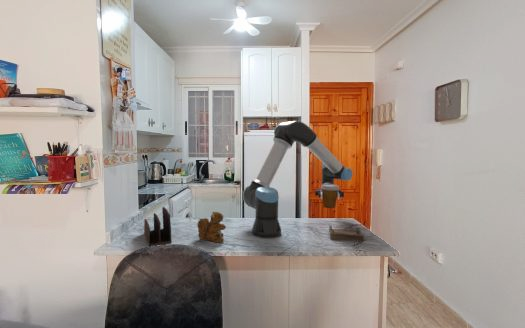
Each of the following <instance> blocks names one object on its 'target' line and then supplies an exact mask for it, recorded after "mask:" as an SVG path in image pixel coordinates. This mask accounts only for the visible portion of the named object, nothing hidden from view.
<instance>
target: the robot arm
mask: <svg viewBox="0 0 525 328" xmlns="http://www.w3.org/2000/svg"><path fill="white" fill-rule="evenodd" d="M273 134H274V137H273V139H272V140H273V145H272V147H271V148H270V151H269V153H268V154H267V157H266V159H265V161H264V162H263V165H262V166H261V169H260V170H259V173H258V174H257V177H256V178H255V179H252V180H251V183H250V185H248V186H246V187H245V188H244V190H243V192H242V200H243V202H244V203H245V204H246V205H247V206H248V207H250V208H252V209H254V210H255V219H254V222H253V225H252V228H251V234H252V236H254V237H257V238H261V239H262V238H263V239H273V238H278V237H280V236H281V235H282V228H281V223H280V222H279V197H280V196H279V192H278V190H277V189H276V188H274V187H271V184H272V183H273V180H274V178H275V175H276V174H277V172H278V169H279V168H280V165H281V164H282V161H283V160H284V157H285V156H286V153H287V152H288V150H289V149H291V148H292V147H293V145H294V143H299V144H300V145H301V146H302V147H304V148H307V149H308V150H309V151H310V152H311V153H312V154H313V155H314V156H316V159H318V160H319V161H320V162H321V163H322V165H321V166H322V167H321V186H322V185H323V184H334V185H335V183H334V182H335V180H338V181H339V180H340V181H346V182H347V181H350V180H351V179H352V178H353V174H354V173H353V170H352V169H351V168H349V167H345V166H344V165H343V164H342V163H341V161H340V160H339V159H338V158H336V156H335V155H334V154H333V153H332V152H331V151H330V150H329V149H328V148H327V147H326V146H325V145H324V144H323V142H322V141H320V139H319V138H318V135H317V134H316V132H315V131H314V130H313V129H311V127H310V126H308V125H307V124H306V123H304V122H303V121H300V120H292V121H283V122H280V123H278V124H277V125H276V127H275V129H274V130H273ZM314 194H315V195H314V196H315V197H317V196H318V198H319V199H321V200H323V197H322V189H321V188H317V189H316V190H315V192H314ZM344 197H345V192H344V191H342V189H340V188H339V189H338V193H337V201H338V200H341V199H340V198H344Z"/></svg>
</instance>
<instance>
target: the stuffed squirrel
mask: <svg viewBox="0 0 525 328" xmlns="http://www.w3.org/2000/svg"><path fill="white" fill-rule="evenodd" d="M221 222H224V215H223V214H222V213H221V212H219V211H212V213H211V215H210V220H209V218H205V217H204V218H200V219H199V220H198V222H197V228H198V234H197V235H198V237H199V239H200V240H202V241H207V240H208V241H210V242H213V243H223V242H224V240H225V239H224V238H223V236H224V233H223V232H222V231H224V230H225V229H226V228H227V226H226V225H225V224H224V223H221Z"/></svg>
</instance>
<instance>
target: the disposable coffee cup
mask: <svg viewBox="0 0 525 328" xmlns="http://www.w3.org/2000/svg"><path fill="white" fill-rule="evenodd" d="M339 189H340V187H339V185H337V184H335V183H334V184H323V185H322V184H321V186H320V190H322V203H323V204H322V205H323V206H322V207H323V208H325V209H335V208H336V206H337V205H336V204H337V201H338V198H337V193H338V190H339Z"/></svg>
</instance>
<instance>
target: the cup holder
mask: <svg viewBox="0 0 525 328" xmlns="http://www.w3.org/2000/svg"><path fill="white" fill-rule="evenodd" d="M328 231H329V236H330V237H329V238H330V240H336V241H337V240H340V241H352V242H364V239H365V238H364V234H363V233H362V230H361V228H360V227H356V229H355V230H354V229H344V228H343V229H341V228H333V227H332V225H329V226H328Z"/></svg>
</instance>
